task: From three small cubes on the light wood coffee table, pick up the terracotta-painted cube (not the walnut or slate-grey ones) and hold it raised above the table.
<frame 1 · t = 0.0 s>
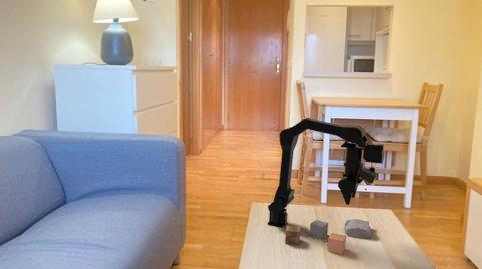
hand: (350, 201, 152), 15 cm above the table, tool pointing down, fingers open, 9 cm apart
slate grey cube: (318, 235, 157), on the table
walnut cube: (292, 241, 151), on the table
terracotta cube: (336, 250, 145), on the table
stone block: (356, 232, 161), on the table
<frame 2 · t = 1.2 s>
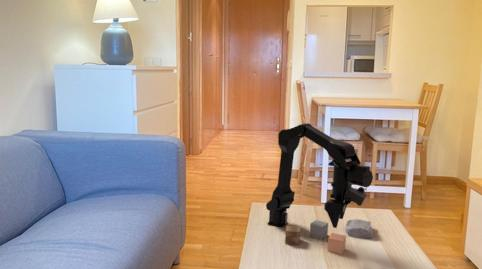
hand: (338, 223, 143), 10 cm above the table, tool pointing down, fingers open, 9 cm apart
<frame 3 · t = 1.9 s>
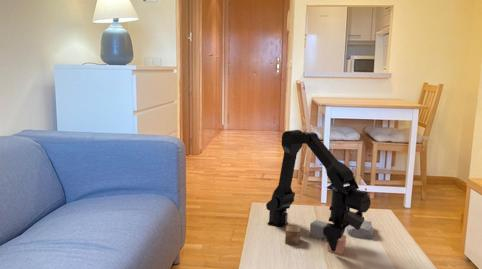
hand: (336, 246, 144), 1 cm above the table, tool pointing down, fingers open, 9 cm apart
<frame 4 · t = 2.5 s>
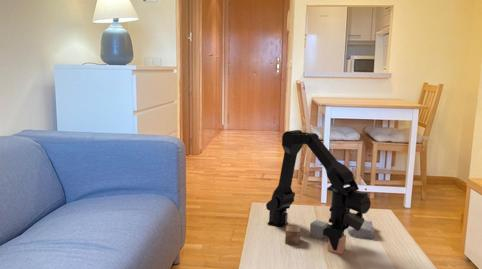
hand: (336, 247, 144), 1 cm above the table, tool pointing down, fingers closed on terracotta cube, 5 cm apart
terracotta cube: (336, 249, 145), on the table, touching gripper
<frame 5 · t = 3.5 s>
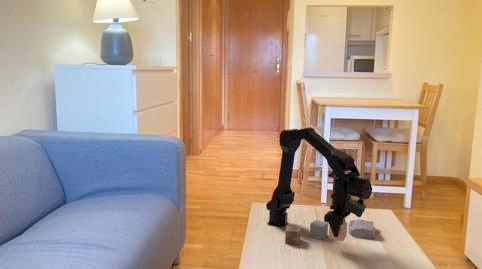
hand: (337, 234, 144), 6 cm above the table, tool pointing down, fingers closed on terracotta cube, 5 cm apart
terracotta cube: (337, 237, 144), point 5 cm above the table, touching gripper
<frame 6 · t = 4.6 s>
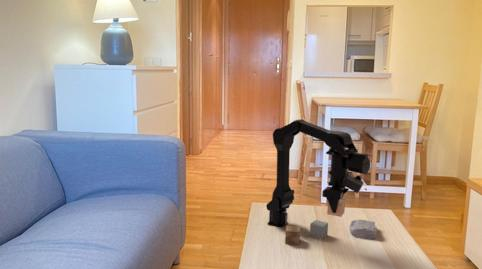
hand: (335, 210, 147), 13 cm above the table, tool pointing down, fingers closed on terracotta cube, 5 cm apart
terracotta cube: (335, 213, 147), point 12 cm above the table, touching gripper
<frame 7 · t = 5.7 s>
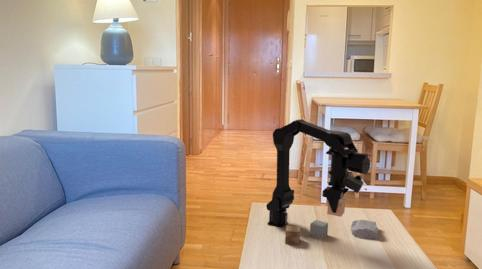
hand: (335, 210, 147), 13 cm above the table, tool pointing down, fingers closed on terracotta cube, 5 cm apart
terracotta cube: (335, 213, 147), point 12 cm above the table, touching gripper
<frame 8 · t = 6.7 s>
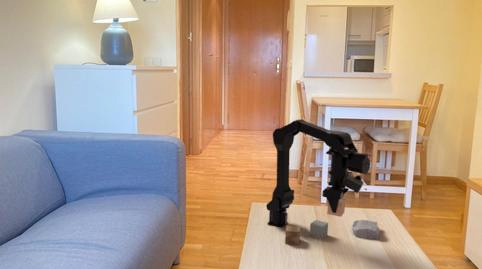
hand: (335, 210, 147), 13 cm above the table, tool pointing down, fingers closed on terracotta cube, 5 cm apart
terracotta cube: (335, 213, 147), point 12 cm above the table, touching gripper
at the end: the gripper is holding terracotta cube; terracotta cube point 11.9 cm above the table; walnut cube moved 0.1 cm from its start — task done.
